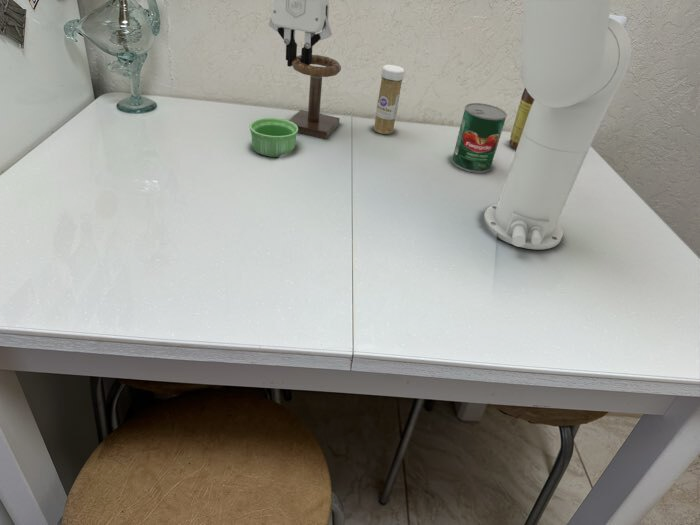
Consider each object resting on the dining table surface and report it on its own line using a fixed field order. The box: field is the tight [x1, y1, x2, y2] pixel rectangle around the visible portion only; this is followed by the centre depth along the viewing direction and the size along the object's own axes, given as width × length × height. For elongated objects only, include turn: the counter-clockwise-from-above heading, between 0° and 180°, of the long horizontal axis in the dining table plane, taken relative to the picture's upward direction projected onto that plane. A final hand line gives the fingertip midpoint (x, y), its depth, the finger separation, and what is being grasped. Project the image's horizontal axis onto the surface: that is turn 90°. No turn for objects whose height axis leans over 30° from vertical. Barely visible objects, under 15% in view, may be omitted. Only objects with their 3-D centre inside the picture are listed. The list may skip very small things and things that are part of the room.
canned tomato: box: [451, 102, 508, 174], centre depth 95 cm, size 8×8×11 cm
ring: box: [291, 54, 342, 78], centre depth 97 cm, size 10×10×2 cm
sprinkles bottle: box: [373, 64, 405, 135], centre depth 103 cm, size 5×5×14 cm
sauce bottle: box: [509, 87, 534, 150], centre depth 103 cm, size 6×6×20 cm
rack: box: [288, 75, 340, 140], centre depth 101 cm, size 9×9×10 cm
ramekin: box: [249, 117, 299, 158], centre depth 93 cm, size 9×9×4 cm
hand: (298, 65), depth 98 cm, fingers closed on ring, 2 cm apart
